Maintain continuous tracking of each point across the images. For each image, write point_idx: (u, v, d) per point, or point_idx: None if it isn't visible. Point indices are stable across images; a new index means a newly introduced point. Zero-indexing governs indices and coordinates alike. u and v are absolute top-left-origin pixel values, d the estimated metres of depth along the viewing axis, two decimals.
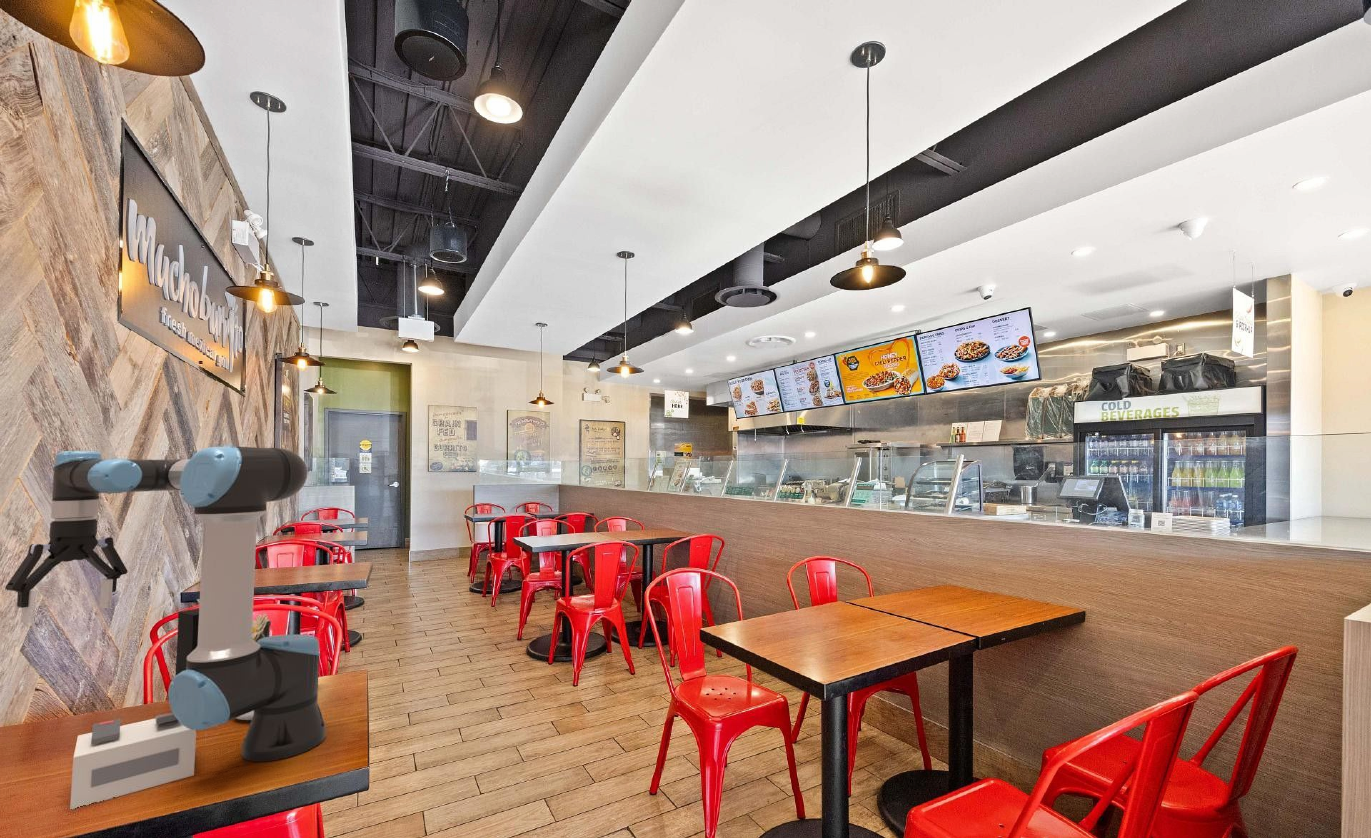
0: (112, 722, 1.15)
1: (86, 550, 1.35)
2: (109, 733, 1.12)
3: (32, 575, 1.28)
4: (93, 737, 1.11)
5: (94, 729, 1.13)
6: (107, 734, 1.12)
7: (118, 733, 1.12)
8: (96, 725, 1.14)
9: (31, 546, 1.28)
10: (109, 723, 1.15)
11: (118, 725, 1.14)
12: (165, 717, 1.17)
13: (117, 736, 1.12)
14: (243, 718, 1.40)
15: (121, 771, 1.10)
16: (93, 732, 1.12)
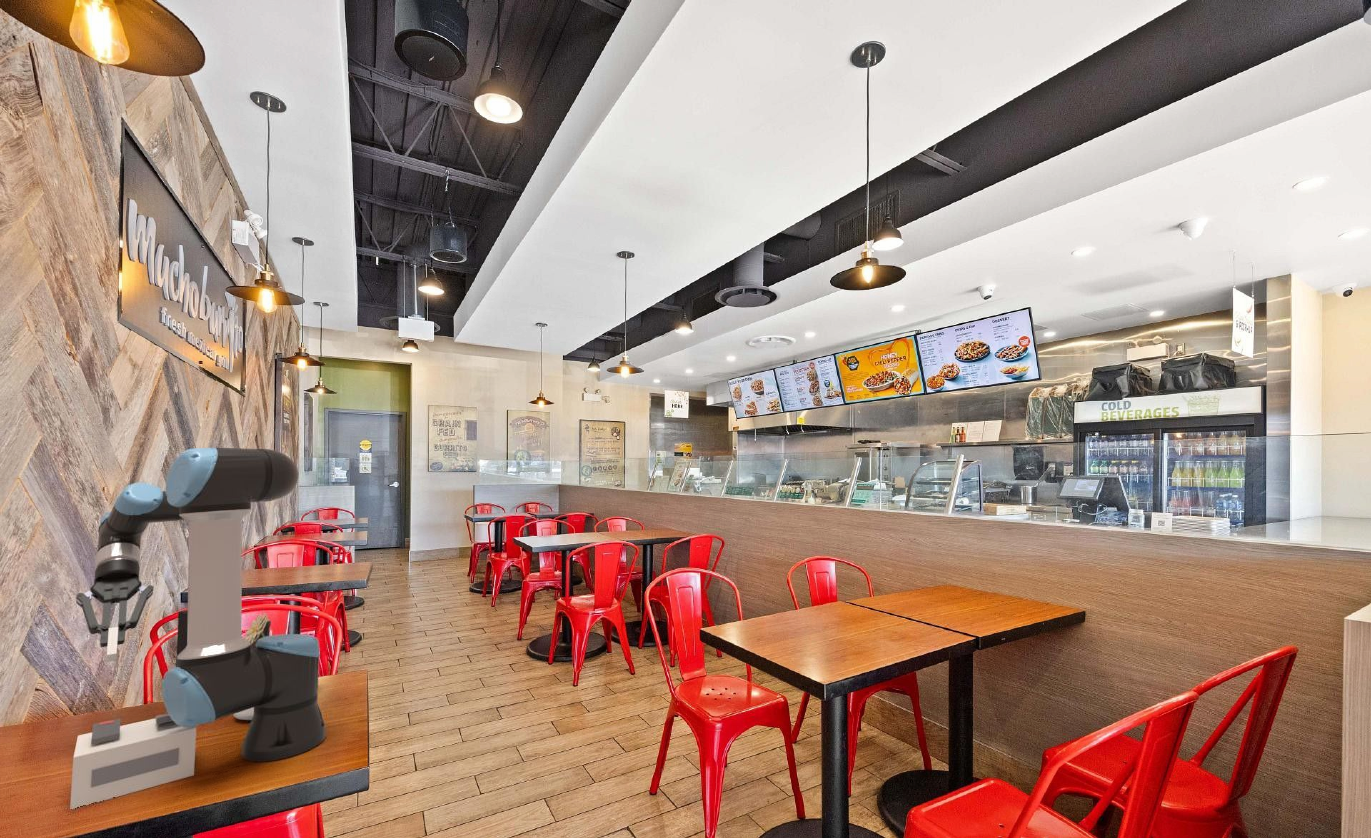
0: (112, 722, 1.15)
1: (122, 587, 1.34)
2: (109, 733, 1.12)
3: None
4: (93, 737, 1.11)
5: (94, 729, 1.13)
6: (107, 734, 1.12)
7: (118, 733, 1.12)
8: (96, 725, 1.14)
9: (76, 601, 1.30)
10: (109, 723, 1.15)
11: (118, 725, 1.14)
12: (165, 717, 1.17)
13: (117, 736, 1.12)
14: (243, 718, 1.40)
15: (121, 771, 1.10)
16: (93, 732, 1.12)
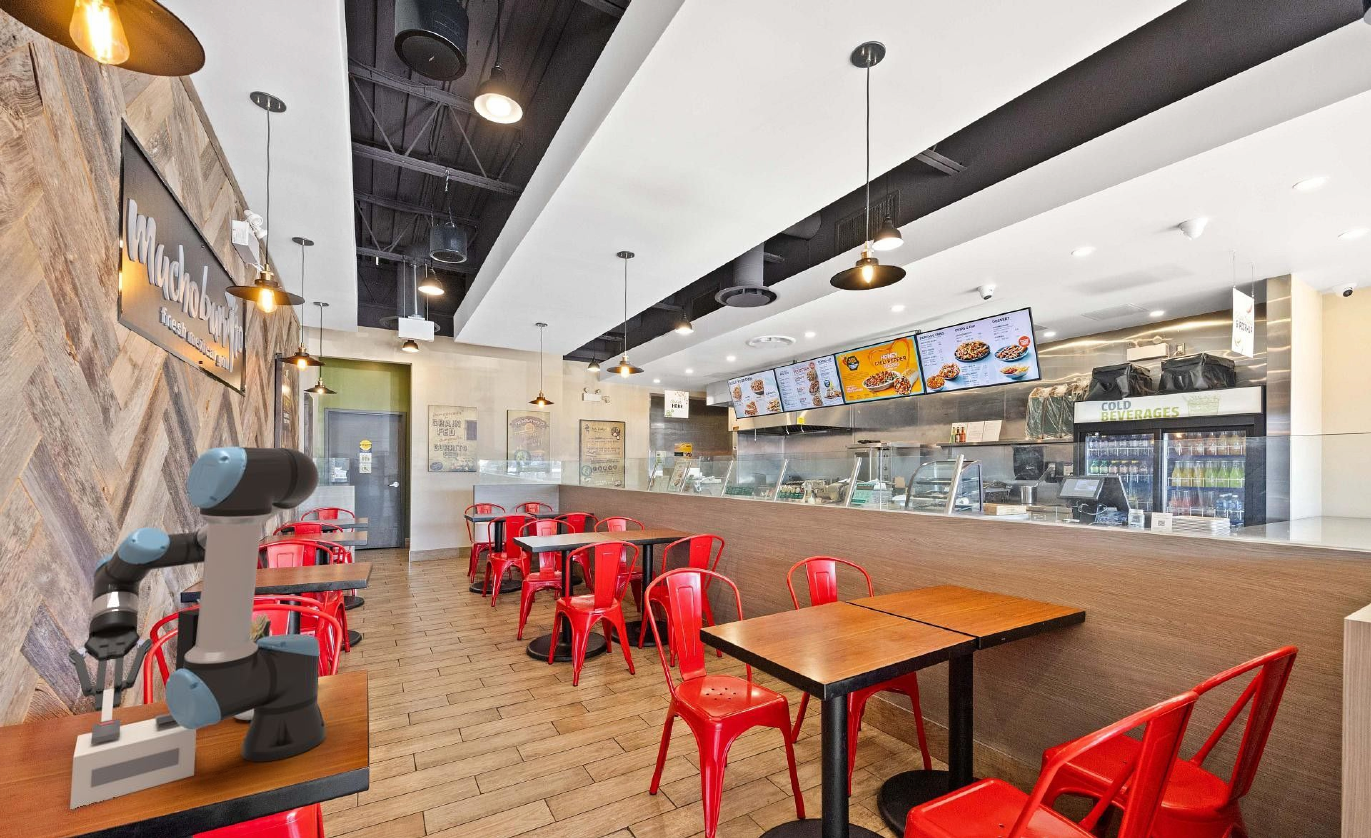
0: (112, 723, 1.15)
1: (118, 642, 1.25)
2: (109, 733, 1.12)
3: None
4: (93, 736, 1.11)
5: (94, 729, 1.13)
6: (107, 733, 1.12)
7: (118, 732, 1.12)
8: (96, 726, 1.14)
9: (69, 659, 1.21)
10: (109, 723, 1.15)
11: (118, 725, 1.14)
12: (165, 717, 1.17)
13: (117, 735, 1.12)
14: (243, 718, 1.40)
15: (121, 771, 1.10)
16: (93, 732, 1.12)
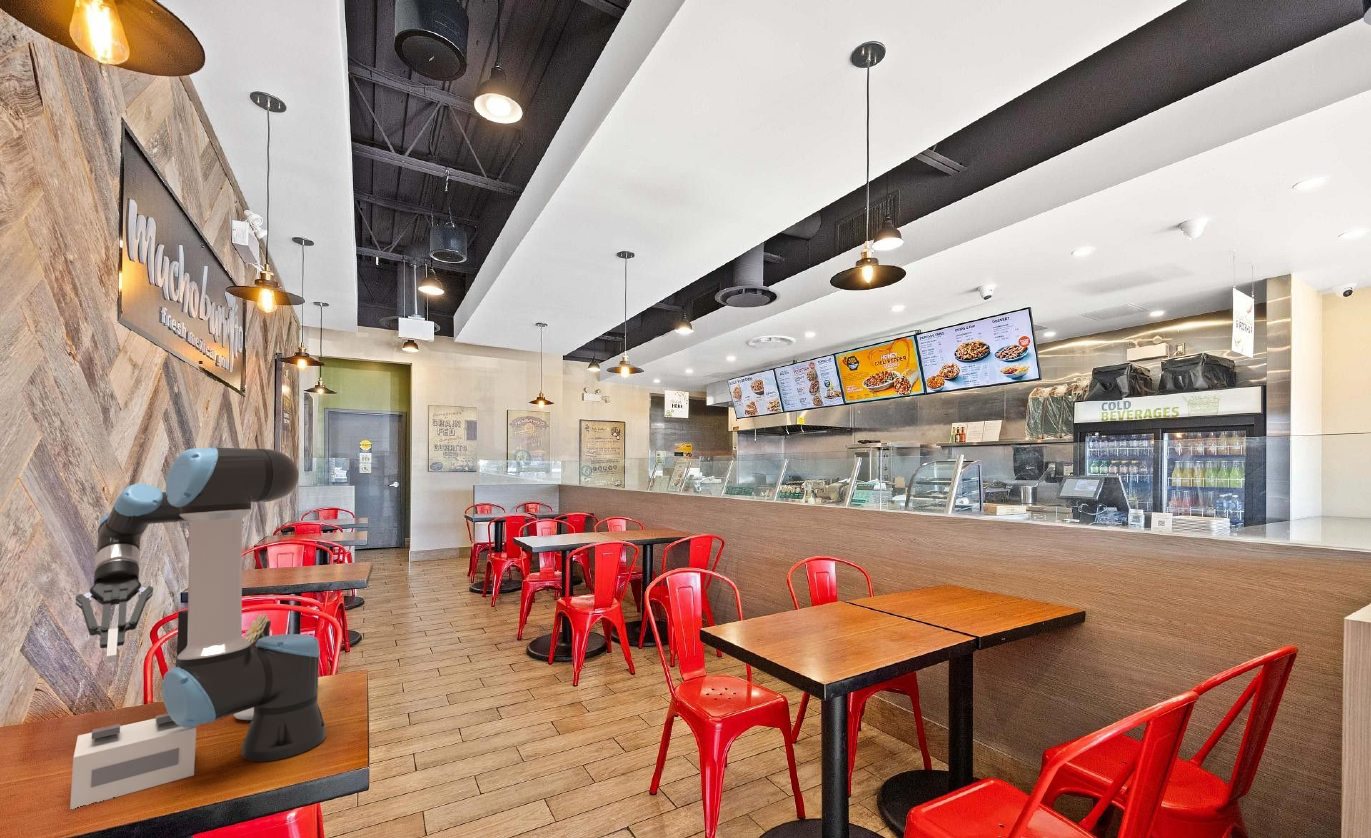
0: (112, 726, 1.15)
1: (121, 588, 1.34)
2: (109, 729, 1.12)
3: None
4: (94, 732, 1.11)
5: (94, 730, 1.13)
6: (108, 729, 1.12)
7: (118, 727, 1.13)
8: (96, 729, 1.14)
9: (76, 602, 1.30)
10: (109, 726, 1.15)
11: (118, 725, 1.15)
12: (165, 717, 1.17)
13: (117, 730, 1.12)
14: (243, 718, 1.40)
15: (121, 771, 1.10)
16: (93, 731, 1.12)
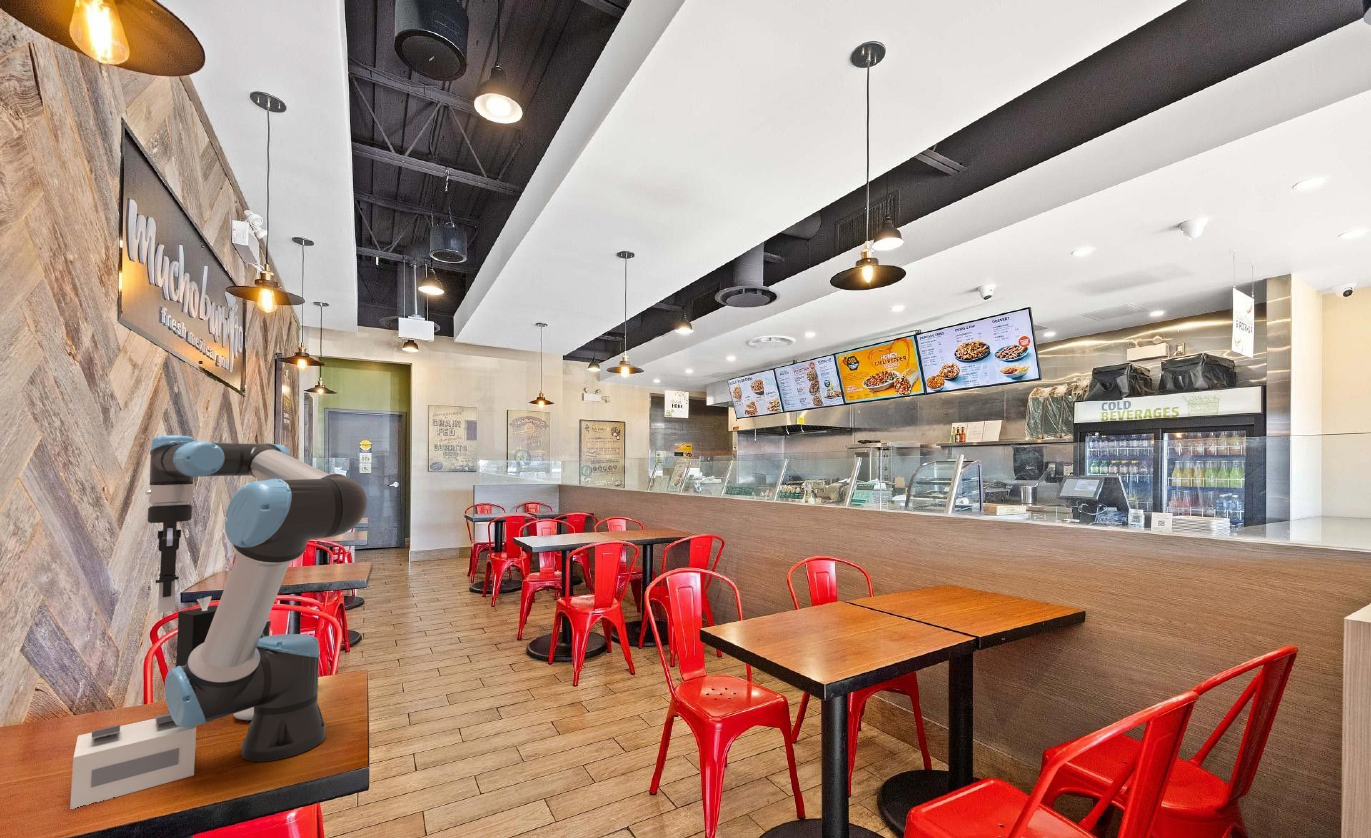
0: (112, 726, 1.15)
1: None
2: (109, 727, 1.12)
3: None
4: (94, 731, 1.11)
5: (94, 730, 1.13)
6: (108, 728, 1.12)
7: (118, 726, 1.13)
8: None
9: (166, 541, 1.28)
10: (109, 727, 1.15)
11: (118, 725, 1.15)
12: (165, 717, 1.17)
13: (117, 729, 1.12)
14: (243, 718, 1.40)
15: (121, 771, 1.10)
16: (93, 731, 1.12)
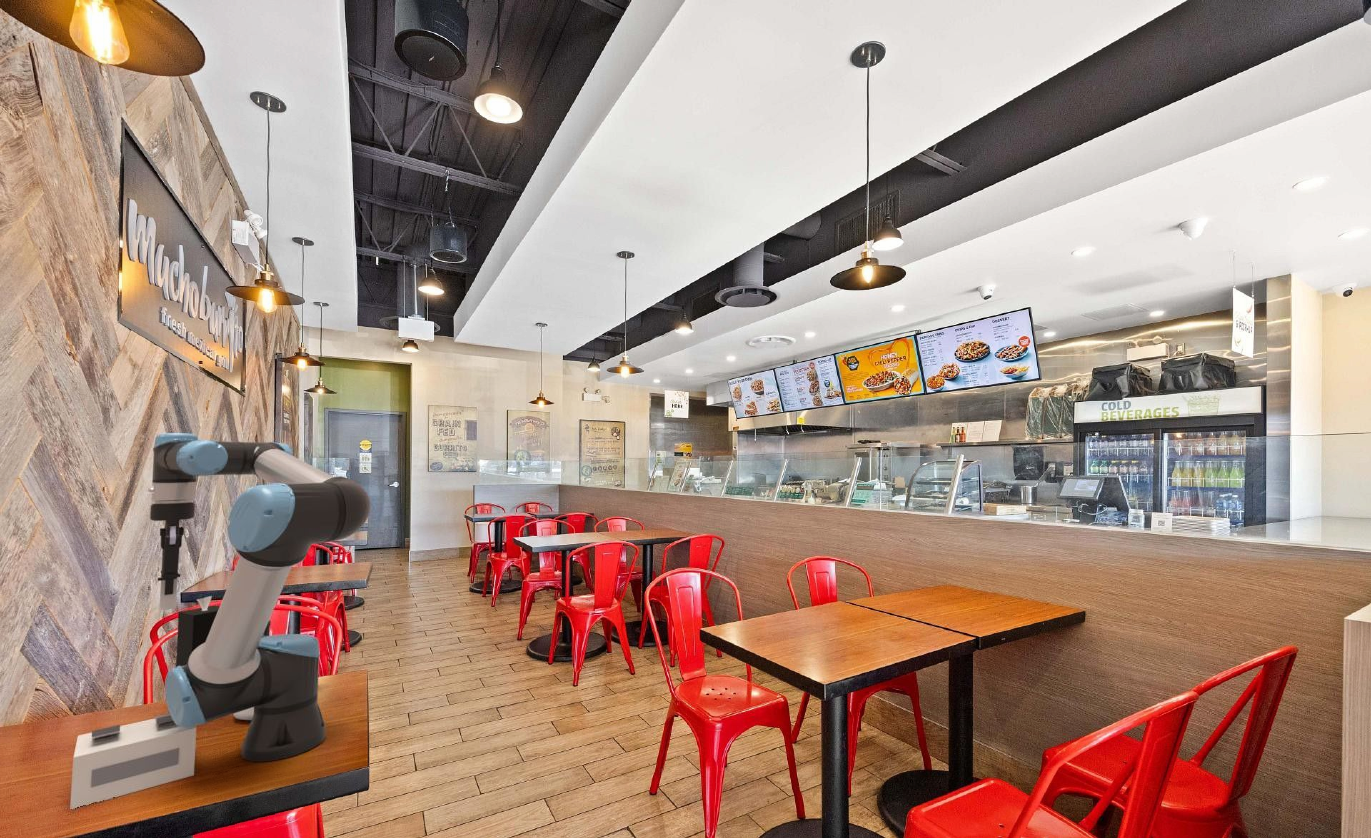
0: None
1: None
2: (109, 727, 1.12)
3: None
4: (94, 730, 1.11)
5: None
6: (108, 727, 1.12)
7: (118, 725, 1.13)
8: None
9: (169, 539, 1.28)
10: None
11: None
12: (165, 717, 1.17)
13: (117, 728, 1.12)
14: (243, 718, 1.40)
15: (121, 771, 1.10)
16: None
